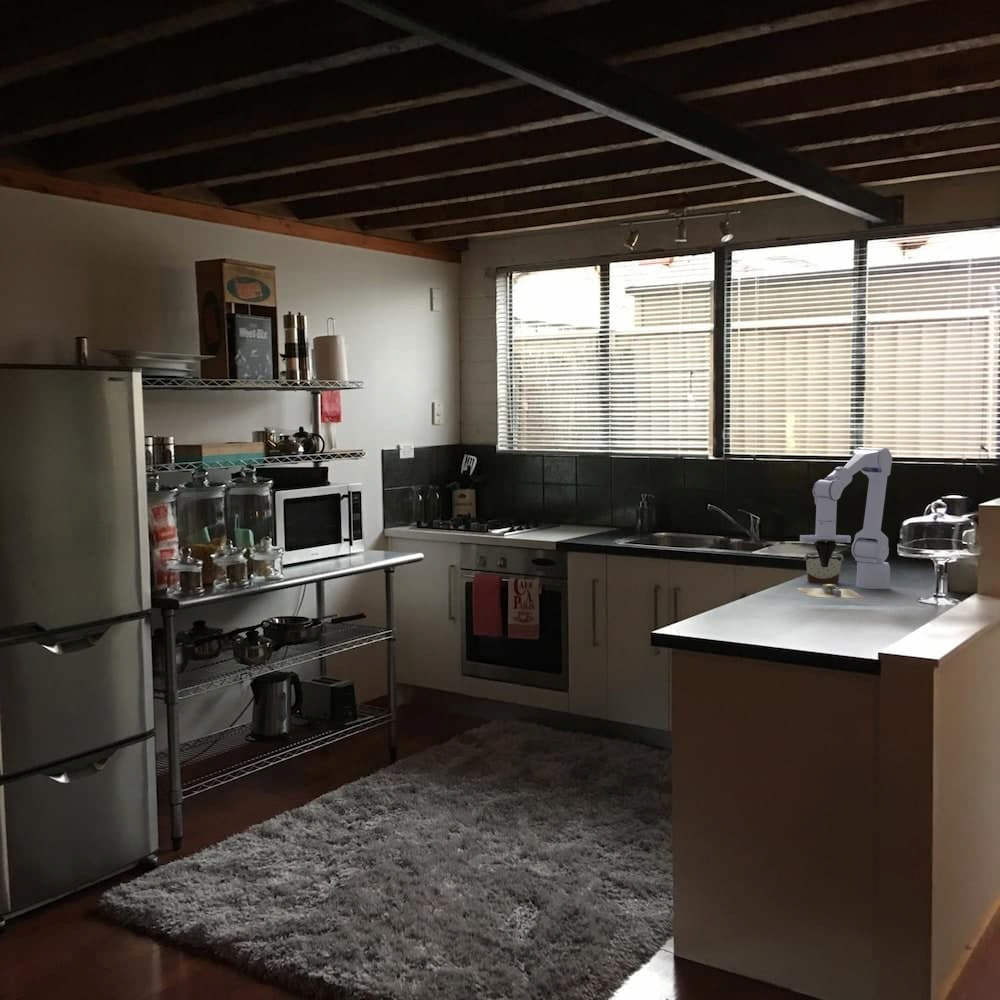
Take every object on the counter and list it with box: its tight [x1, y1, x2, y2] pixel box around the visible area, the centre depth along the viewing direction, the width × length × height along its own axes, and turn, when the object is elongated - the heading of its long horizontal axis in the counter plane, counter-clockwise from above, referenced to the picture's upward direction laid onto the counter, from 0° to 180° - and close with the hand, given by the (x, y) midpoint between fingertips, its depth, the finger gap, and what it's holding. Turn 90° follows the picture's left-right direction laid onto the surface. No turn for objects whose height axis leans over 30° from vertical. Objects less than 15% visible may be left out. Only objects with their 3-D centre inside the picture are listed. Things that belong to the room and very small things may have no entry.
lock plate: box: [796, 583, 865, 599], centre depth 322 cm, size 16×16×3 cm
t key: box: [821, 583, 841, 596], centre depth 322 cm, size 12×4×2 cm, turn 2°
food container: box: [803, 551, 845, 584], centre depth 345 cm, size 12×6×10 cm, turn 84°
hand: (824, 566), depth 318 cm, fingers closed
